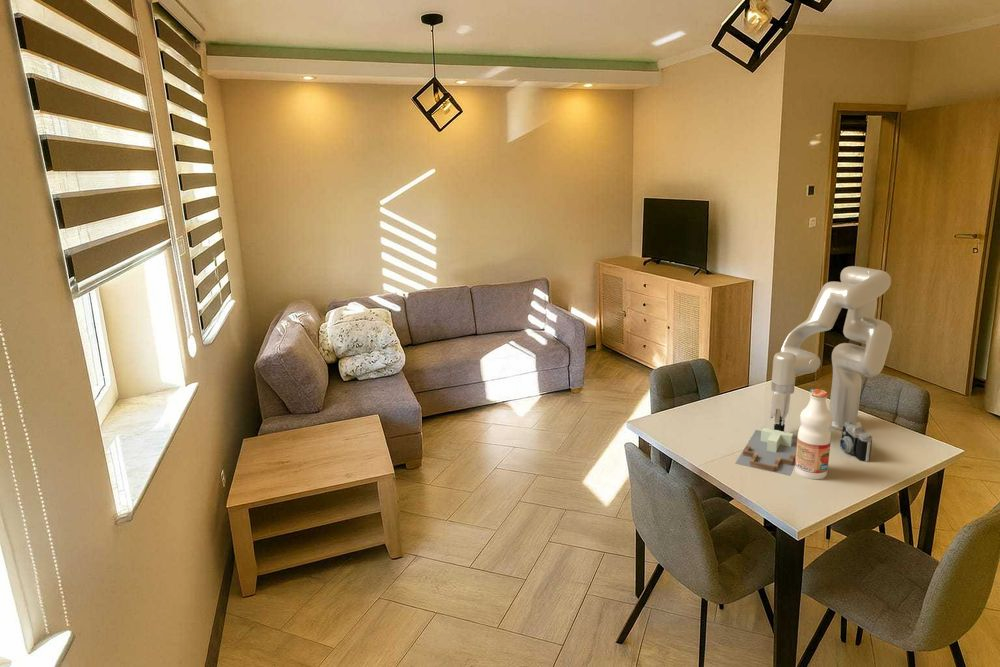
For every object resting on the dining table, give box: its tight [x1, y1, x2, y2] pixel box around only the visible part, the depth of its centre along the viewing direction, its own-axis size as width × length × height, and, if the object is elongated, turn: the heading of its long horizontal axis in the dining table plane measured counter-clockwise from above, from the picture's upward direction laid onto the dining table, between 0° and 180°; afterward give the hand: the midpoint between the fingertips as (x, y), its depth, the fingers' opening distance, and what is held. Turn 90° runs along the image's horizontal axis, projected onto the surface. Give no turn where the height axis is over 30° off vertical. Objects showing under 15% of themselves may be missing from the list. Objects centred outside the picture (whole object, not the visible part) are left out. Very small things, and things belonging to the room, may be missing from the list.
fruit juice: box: [794, 388, 832, 480], centre depth 192 cm, size 9×9×28 cm
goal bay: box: [742, 444, 795, 473], centre depth 204 cm, size 13×15×2 cm
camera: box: [839, 421, 873, 463], centre depth 207 cm, size 15×7×10 cm, turn 177°
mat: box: [734, 429, 797, 477], centre depth 211 cm, size 31×17×1 cm, turn 146°
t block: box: [760, 427, 794, 452], centre depth 214 cm, size 10×10×4 cm
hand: (778, 434), depth 221 cm, fingers closed
